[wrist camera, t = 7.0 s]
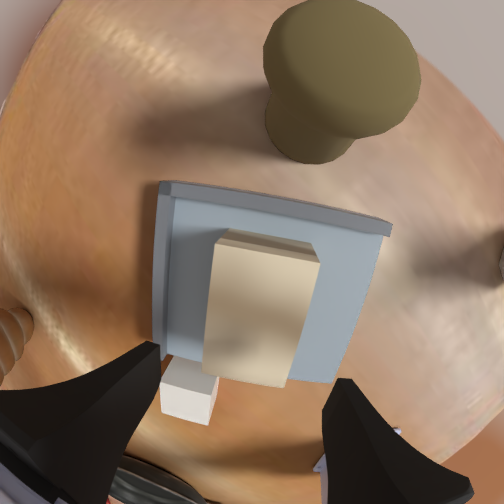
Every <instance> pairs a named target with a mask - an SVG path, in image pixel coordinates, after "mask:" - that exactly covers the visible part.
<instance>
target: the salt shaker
mask: <svg viewBox="0 0 504 504" xmlns="http://www.w3.org/2000/svg"><path fill="white" fill-rule="evenodd" d="M499 267H500V271H501V274H502V278H503V280H504V248H503V251H502V255H501V259H500V262H499Z"/></svg>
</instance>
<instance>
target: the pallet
mask: <svg viewBox="0 0 504 504" xmlns="http://www.w3.org/2000/svg"><path fill="white" fill-rule="evenodd" d="M320 264H321V263H320V261H319V259H318V257H317V255H316V252H315V250H314V248H313V246H312V244H311V243H308V242H303V241H298V240H293V239H287V238H282V237H277V236H271V235H266V234H261V233H255V232H250V231H244V230H239V229H233V228H229V229H228V230H227V231H226V232H225V234H224V235H223V236H222V237H221V238H220V239H219V240H218V241H217V242H216V243H215V247H214V255H213V263H212V271H211V279H210V288H209V296H208V306H207V315H206V325H205V335H204V345H203V356H202V368H201V373H205V374H209V375H214V376H218V377H223V378H227V379H232V380H237V381H242V382H248V383H253V384H259V385H265V386H272V387H279V388H284V386H285V383H286V380H287V377H288V374H289V371H290V368H291V365H292V362H293V359H294V356H295V353H296V349H297V346H298V343H299V340H300V336H301V333H302V330H303V326H304V323H305V320H306V316H307V313H308V309H309V306H310V302H311V298H312V295H313V291H314V287H315V283H316V279H317V276H318V272H319V268H320Z"/></svg>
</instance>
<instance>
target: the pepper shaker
mask: <svg viewBox="0 0 504 504" xmlns="http://www.w3.org/2000/svg"><path fill="white" fill-rule="evenodd" d="M263 68H264V73H265V76H266V78H267V81H268V83H269V86H270V88H271V91H272V94H271V97H270V100H269V102H268V105H267V108H266V111H265V126H266V129H267V131H268V134H269V137H270V139H271V140H272V142H273V143H274V144H275V146H276V147H277V148H278V150H279V151H281V152H282V153H284V154H285V155H286V156H288V157H289V158H290V159H293V160H296V161H299V162H301V163H304V164H323V163H327V162H330V161H333V160H335V159H336V158H338V157H340V156H341V155H343V154H344V153H345V152H346V151H347V149H348V148H349V147H350V146H351V144H352V143H353V142H354V141H355V140H356V139H360V138H365V137H369V136H374V135H379V134H382V133H385V132H386V131H388V130H389V129H391V128H393V127H394V126H396V125H397V124H399V123H401V122H402V121H403V120H404V118H405V117H406V116H407V114H408V113H409V111H410V110H411V108H412V107H413V105H414V104H415V102H416V101H417V99H418V95H419V90H420V84H421V75H420V68H419V63H418V58H417V54H416V52H415V50H414V48H413V46H412V44H411V42H410V40H409V38H408V37H407V35H406V34H405V33H404V32H403V31H402V30H401V29H400V28H399V27H398V25H397V24H396V23H395V22H394V21H393V20H392V19H390V18H389V17H387V16H386V15H385V14H383V13H382V12H380V11H379V10H377V9H376V8H374V7H371V6H369V5H366V4H364V3H362V2H359V1H357V0H307V1H305V2H303V3H300V4H298V5H295V6H293V7H291V8H289V9H287V10H286V11H285V12H284V13H283V14H282V15H281V16H280V17H279V18H278V19H277V20H276V21H275V22H274V23H273V25H272V27H271V29H270V32H269V34H268V36H267V39H266V41H265V44H264V46H263Z"/></svg>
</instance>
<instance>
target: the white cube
mask: <svg viewBox="0 0 504 504" xmlns="http://www.w3.org/2000/svg"><path fill="white" fill-rule="evenodd" d="M201 368H202V362H198V361H193V360H190V359H186V358H182V357H178V356H175V355H174V357H173V358H172V360H171V362H170V364H169V365H168V367H167V369H166V371H165V372H164V374H163V376H162V378H161V382H160V398H161V410H162V413H164V414H168V415H171V416H174V417H178V418H181V419H185V420H188V421H192V422H196V423H200V424H204V425H208V423H209V420H210V417H211V413H212V410H213V406H214V403H215V400H216V396H217V390H218V383H219V377H218V376H214V375H209V374H205V373H201Z"/></svg>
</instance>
